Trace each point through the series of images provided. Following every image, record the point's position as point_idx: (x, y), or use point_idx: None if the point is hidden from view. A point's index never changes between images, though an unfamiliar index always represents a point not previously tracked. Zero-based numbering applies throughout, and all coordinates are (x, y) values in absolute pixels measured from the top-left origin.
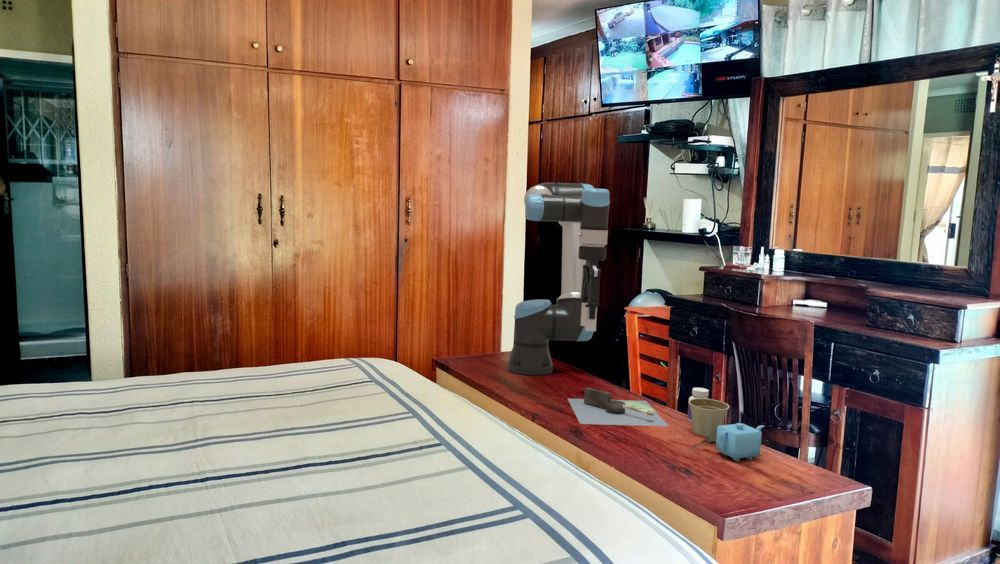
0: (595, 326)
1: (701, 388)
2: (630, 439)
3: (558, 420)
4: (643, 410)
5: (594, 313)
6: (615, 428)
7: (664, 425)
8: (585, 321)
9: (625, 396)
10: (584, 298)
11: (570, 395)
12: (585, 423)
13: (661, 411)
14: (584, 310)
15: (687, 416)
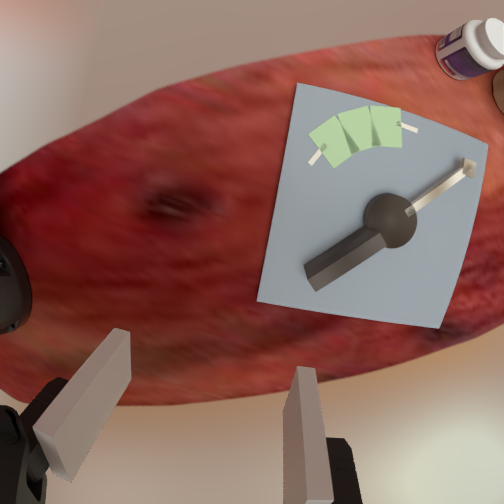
0: (317, 390)
1: (492, 26)
2: (496, 245)
3: (373, 347)
4: (457, 178)
5: (354, 476)
6: None
7: (484, 151)
8: (119, 375)
9: (196, 104)
10: (28, 484)
11: (180, 260)
12: (440, 317)
13: (345, 67)
14: (90, 432)
15: (459, 72)
